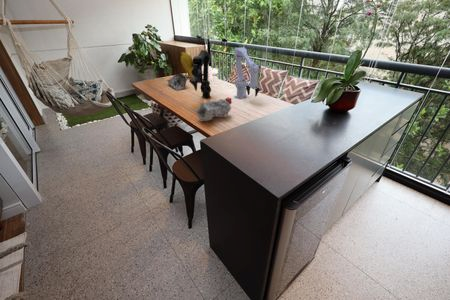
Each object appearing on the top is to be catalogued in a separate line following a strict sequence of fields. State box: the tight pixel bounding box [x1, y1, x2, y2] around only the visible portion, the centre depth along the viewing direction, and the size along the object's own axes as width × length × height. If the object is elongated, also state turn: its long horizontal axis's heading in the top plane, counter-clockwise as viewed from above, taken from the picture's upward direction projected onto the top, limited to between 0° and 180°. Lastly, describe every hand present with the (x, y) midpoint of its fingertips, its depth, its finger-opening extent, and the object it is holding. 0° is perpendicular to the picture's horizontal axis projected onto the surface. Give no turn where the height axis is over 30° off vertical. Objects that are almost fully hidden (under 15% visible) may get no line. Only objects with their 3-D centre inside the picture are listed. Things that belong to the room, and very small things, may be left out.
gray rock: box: [166, 72, 188, 91], centre depth 228 cm, size 19×8×30 cm
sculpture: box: [180, 51, 194, 79], centre depth 254 cm, size 20×27×30 cm
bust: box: [195, 98, 232, 123], centre depth 155 cm, size 17×17×28 cm
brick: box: [224, 97, 232, 105], centre depth 187 cm, size 5×4×4 cm
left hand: (200, 91), depth 178 cm, fingers open, 9 cm apart
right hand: (252, 95), depth 184 cm, fingers open, 7 cm apart
